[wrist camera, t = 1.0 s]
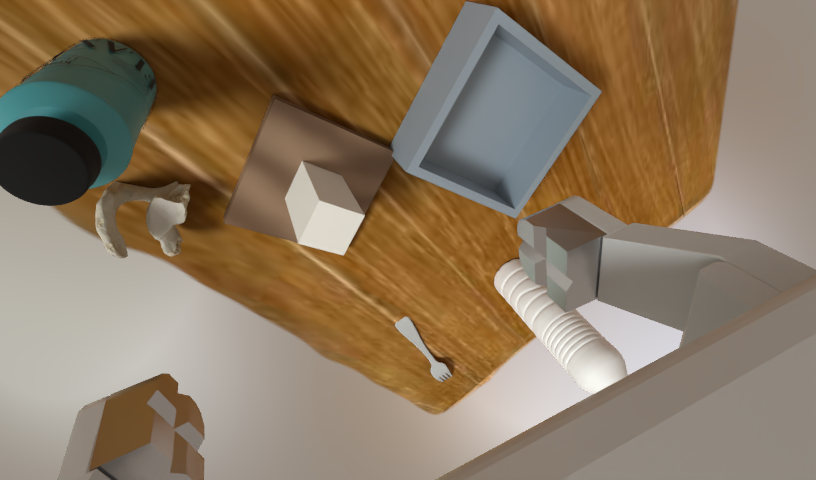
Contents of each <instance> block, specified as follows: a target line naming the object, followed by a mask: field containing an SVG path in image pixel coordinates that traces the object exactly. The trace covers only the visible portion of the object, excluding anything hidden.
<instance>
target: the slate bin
mask: <svg viewBox="0 0 816 480" xmlns="http://www.w3.org/2000/svg"><path fill="white" fill-rule="evenodd" d="M601 92H602V91H601V90H599V89H598V88H597V87H596V86H594V85H593V84H592V83H591V82H590V81H588V80H587V79H586V78H585V77H583V76H582V75H581V74H580V73H578V72H577V71H576V70H575V69H573V68H572V67H571V66H570V65H568V64H567V63H566V62H565V61H563V60H562V59H561V58H560V57H558V56H557V55H556V54H555V53H553V52H552V51H551V50H550V49H548V48H547V47H546V46H545V45H543V44H542V43H541V42H540V41H538V40H537V39H536V38H535V37H534V36H532V35H531V34H530V33H529V32H527V31H526V30H525V29H524V28H522V27H521V26H520V25H519V24H517V23H516V22H515V21H514V20H512V19H511V18H510V17H509V16H507V15H506V14H505V13H504V12H502V11H501V10H500V9H499V8H497V7H493V6H488V5H483V4H478V3H473V2H467V1H466V2H465V4H464V6H463V8H462V10H461V12H460V13H459V15H458V17H457V19H456V21H455V23H454V25H453V27H452V29H451V31H450V32H449V34H448V36H447V38H446V40H445V42H444V44H443V46H442V48H441V50H440V51H439V53H438V55H437V57H436V59H435V61H434V63H433V65H432V67H431V69H430V70H429V72H428V74H427V76H426V78H425V80H424V82H423V84H422V86H421V88H420V89H419V91H418V93H417V95H416V97H415V99H414V101H413V103H412V105H411V107H410V108H409V110H408V112H407V114H406V116H405V118H404V120H403V122H402V124H401V126H400V127H399V129H398V131H397V133H396V135H395V137H394V139H393V141H392V143H391V145H390V146H389V147H390V148H391V149H392V150H393V154H392V157H393V158H394V159H395V160H396V161H397V162H398V164H399V165H400V166H401V167H402V168H403V169H404V170H405V171H406V172H407V173H410V174H412V175H414V176H417V177H419V178H421V179H424V180H426V181H428V182H431V183H433V184H436V185H438V186H440V187H443V188H445V189H447V190H450V191H452V192H454V193H457V194H459V195H462V196H464V197H466V198H469V199H471V200H473V201H476V202H478V203H480V204H483V205H485V206H487V207H490V208H492V209H495V210H497V211H499V212H502V213H504V214H506V215H509V216H511V217H513V218H516V217H517V216H518V214H519V213H520V211H521V210H522V209H523V207H524V206H525V204H526V203H527V201H528V200H529V198H530V197H531V195H532V194H533V192H534V191H535V189H536V188H537V186H538V185H539V184H540V182H541V181H542V179H543V178H544V176H545V175H546V173H547V172H548V170H549V169H550V167H551V166H552V164H553V163H554V161H555V160H556V159H557V157H558V156H559V154H560V153H561V151H562V150H563V148H564V147H565V145H566V144H567V142H568V141H569V139H570V138H571V136H572V135H573V134H574V132H575V131H576V129H577V128H578V126H579V125H580V123H581V122H582V120H583V119H584V117H585V116H586V114H587V113H588V111H589V110H590V109H591V107H592V106H593V104H594V103H595V101H596V100H597V98H598V97H599V95H600V94H601Z"/></svg>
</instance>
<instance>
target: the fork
mask: <svg viewBox="0 0 816 480" xmlns="http://www.w3.org/2000/svg"><path fill="white" fill-rule="evenodd" d="M395 326H396V328H397V329H398V330H399V332H400V333H402V334H403V335H404V336H405V337H406V338H407V339H409V340H410V341H411V342H412V343H413V344H414V345H415V346H417V347H418V348H419V349H420V350H421V351H422V353H423V354H424V355H425V356H426V357H427V358H428V360H429V361H430V363H431V374H432V375H433V377H434V378H435V379H437V380H438V381H441V382H444V381H443V380H442V379H444V380H447V379H446V378H445V377H447V378H449V377H448V375H449V376H451V377H452V374H451V373H450V371H449V369H448V368H447V366H446V365H445V364H444V363H440V362H437V361H436V360H435V359H434V358H433V356H432V355H431V353H430V352H429V351H428V349H427V348H426V346H425V345H424V343H423V341H422V340H421V338H420V336H419V334H418V332H417V330H416V328H415V326H414V324H413V322H412V321H411V320H410V318H409V317H404V318H403V319H401V320H400V321H398V322H397V323H396V324H395ZM446 373H447V374H448V375H447V374H446ZM442 374H443V375H444V376H445V377H444V376H443V375H442ZM440 377H441V378H442V379H441V378H440Z"/></svg>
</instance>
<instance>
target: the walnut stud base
mask: <svg viewBox="0 0 816 480" xmlns="http://www.w3.org/2000/svg"><path fill="white" fill-rule="evenodd" d="M392 154H393V150H392V149H391V148H390V147H388V146H386V145H384V144H382V143H380V142H377V141H375V140H373V139H371V138H368V137H366V136H364V135H362V134H360V133H357V132H355V131H353V130H351V129H349V128H346V127H344V126H342V125H340V124H337V123H335V122H333V121H331V120H329V119H326V118H324V117H322V116H320V115H318V114H315V113H313V112H311V111H309V110H306V109H304V108H302V107H300V106H298V105H295V104H293V103H291V102H289V101H286V100H284V99H282V98H280V97H278V96H275V95H273V96H272V98H271V101H270V103H269V106H268V108H267V111H266V113H265V115H264V118H263V120H262V123H261V125H260V128H259V130H258V133H257V135H256V138H255V140H254V143H253V145H252V148H251V150H250V152H249V155H248V157H247V160H246V162H245V165H244V167H243V170H242V172H241V175H240V177H239V180H238V182H237V184H236V187H235V189H234V192H233V194H232V197H231V199H230V202H229V204H228V207H227V209H226V212H225V214H224V223H226V224H230V225H234V226H237V227H241V228H245V229H249V230H252V231H256V232H260V233H264V234H268V235H271V236H275V237H279V238H283V239H286V240H290V241H294V242H298V241H297V237H296V234H295V231H294V227H293V224H292V221H291V217H290V214H289V211H288V208H287V204H286V201H285V197H286V195H287V193H288V190H289V188H290V186H291V184H292V182H293V179H294V177H295V175H296V173H297V171H298V169H299V166H300V164H301V162H302V161H304V162H307V163H309V164H312V165H315V166H317V167H320V168H323V169H325V170H328V171H331V172H333V173H336V174H338V175H341V176H342V177H343V179H344V181H345V182H346V184H347V186H348V187H349V189H350V191H351V192H352V194H353V196H354V198H355V199H356V201H357V203H358V204H359V206H360V208H361V210H362V211H363V213H364V215H365V213H366V211H367V209H368V207H369V205H370V203H371V202H372V200H373V198H374V196H375V194H376V192H377V190H378V189H379V187H380V185H381V183H382V181H383V179H384V177H385V175H386V174H387V172H388V170H389V168H390V166H391V164H392V162H393V161H394V158H393V157H392Z"/></svg>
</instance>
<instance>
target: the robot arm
mask: <svg viewBox="0 0 816 480" xmlns="http://www.w3.org/2000/svg"><path fill="white" fill-rule="evenodd" d="M517 231H518V236H520V237H521V238H522V239H523V242H522V244H521V246H520V248H519V257H520V262H521V264H522V267H523V269H524V271H525V273H526V274H527V276H528V277H529V278H530V279H531V280H532V281H533V282H534V283H535V284H537V285H541V286H545V287H547V296H549V297H550V298H551V299H552V300H553V301H554V302H555V303H556V304H557V305H558V306H559V307H560V308H561V309H562V310H563V311H565V312H566V313H567V312H569V311H571V310H573V309H575V308H578V307H580V306H582V305H584V304H586V303H589V302H591V301H593V300H595V299H597V298H598V301H601V302H604V303H607V304H609V305H612V306H615V307H617V308H620V309H623V310H626V311H628V312H631V313H634V314H637V315H640V316H642V317H645V318H648V319H651V320H654V321H656V322H659V323H662V324H665V325H667V326H670V327H673V328H676V329H678V330H681V331H683V335H682V339H681V343H680V347H679V348H678V349H676V350H674V351H673V352H671V353H669V354H667V355H665V356H664V357H662V358H660V359H658V360H656V361H654V362H652V363H650V364H649V365H647V366H645V367H643V368H641V369H639V370H637V371H636V372H634V373H632V374H630V375H628V376H626V377H624V378H623V379H621V380H619V381H617V382H615V383H613V384H612V385H610V386H608V387H606V388H604V389H602V390H600V391H599V392H597V393H595V394H593V395H591V396H589V397H588V398H586V399H584V400H582V401H581V402H578V403H576V404H575V405H573V406H571V407H569V408H567V409H565V410H563V411H562V412H560V413H558V414H556V415H554V416H552V417H550V418H549V419H547V420H545V421H543V422H541V423H539V424H538V425H536V426H534V427H532V428H530V429H528V430H526V431H525V432H523V433H521V434H519V435H517V436H515V437H513V438H512V439H510V440H508V441H506V442H504V443H502V444H501V445H499V446H497V447H495V448H493V449H492V450H489V451H488V452H486V453H484V454H482V455H480V456H478V457H476V458H475V459H473V460H471V461H469V462H467V463H465V464H464V465H462V466H460V467H458V468H456V469H454V470H453V471H451V472H449V473H447V474H445V475H443V476H441V477H440V478H438V479H436V480H816V270H815V269H813V268H811V267H809V266H807V265H805V264H803V263H801V262H799V261H797V260H795V259H792V258H791V257H789V256H787V255H785V254H782V253H780V252H778V251H776V250H774V249H772V248H770V247H768V246H766V245H764V244H762V243H760V242H758V241H756V240H750V239H743V238H736V237H729V236H722V235H714V234H708V233H701V232H693V231H687V230H680V229H673V228H666V227H659V226H652V225H645V224H638V223H632V224H630V225H626V224H625V223H623V222H621V221H620V220H618V219H616V218H615V217H613V216H611V215H610V214H608V213H606V212H605V211H603V210H601V209H600V208H598V207H596V206H595V205H593V204H591V203H590V202H588V201H586V200H584V199H583V198H581V197H579V196H572V197H570V198H567V199H565V200H563V201H561V202H559V203H556V204H555V205H553V206H551V207H548V208H546V209H544V210H541V211H539V212H537V213H535V214H532V215H530V216H528V217H526V218H523V219H521V220H519V222H518V225H517ZM203 440H204V423H203V419H202V416H201V412H200V410H199V408H198V407H197V405H196V403H195V402H194V401H193V399H192V398H191V397H190V396H187V395H183V394H178V383H177V382H176V381H175V380H174V379H173V378H172V377H171V376H170V375H169V374H160V375H158V376H155V377H153V378H151V379H148V380H145V381H143V382H140V383H138V384H136V385H133V386H131V387H128V388H126V389H123V390H121V391H118V392H116V393H114V394H111V395H110V396H107V397H105V398H102V399H100V400H97V401H95V402H92V403H90V404H88V405H85V406H84V407H83V408H82V409H81V410H80V411H79V412H78V414H77V417H76V420H75V423H74V427H73V430H72V433H71V437H70V440H69V443H68V446H67V450H66V453H65V456H64V459H63V463H62V466H61V469H60V473H59V476H58V479H57V480H204V458H203V457H202V456H201V455H200V454H199V453H198V452H197V450H198V449H199V447H200V445H201V444H202V442H203Z"/></svg>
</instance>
